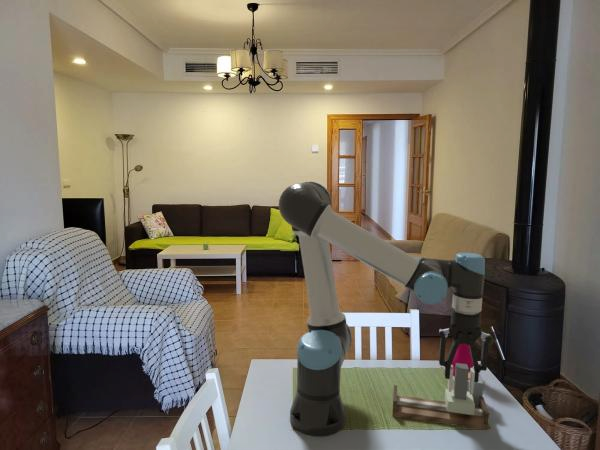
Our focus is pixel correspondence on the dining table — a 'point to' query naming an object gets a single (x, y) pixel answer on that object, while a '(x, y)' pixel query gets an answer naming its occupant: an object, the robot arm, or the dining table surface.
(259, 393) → the dining table surface
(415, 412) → the rail board
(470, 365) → the pepper mill
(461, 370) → the carriage
